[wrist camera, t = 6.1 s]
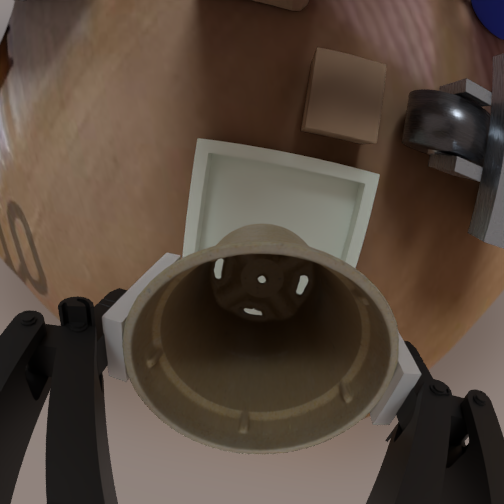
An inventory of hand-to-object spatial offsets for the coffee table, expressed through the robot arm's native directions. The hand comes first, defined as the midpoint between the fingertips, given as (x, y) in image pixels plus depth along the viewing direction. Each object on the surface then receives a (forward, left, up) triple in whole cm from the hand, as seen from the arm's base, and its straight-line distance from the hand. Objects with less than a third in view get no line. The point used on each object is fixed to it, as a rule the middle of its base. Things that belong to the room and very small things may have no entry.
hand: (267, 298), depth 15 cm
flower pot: (0, 0, -3) cm, 2 cm away
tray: (0, 0, -11) cm, 11 cm away
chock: (-12, +3, -11) cm, 17 cm away
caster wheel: (-12, +13, -11) cm, 21 cm away
